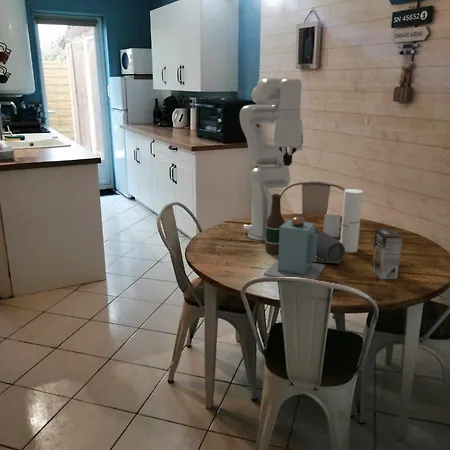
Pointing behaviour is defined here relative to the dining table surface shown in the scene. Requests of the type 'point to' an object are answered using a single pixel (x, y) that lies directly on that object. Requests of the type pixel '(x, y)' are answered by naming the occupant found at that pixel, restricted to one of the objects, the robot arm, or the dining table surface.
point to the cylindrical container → (351, 219)
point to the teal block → (296, 252)
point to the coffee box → (386, 253)
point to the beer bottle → (273, 226)
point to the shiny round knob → (297, 221)
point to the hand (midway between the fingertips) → (287, 165)
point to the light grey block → (331, 225)
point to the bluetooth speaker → (329, 247)
